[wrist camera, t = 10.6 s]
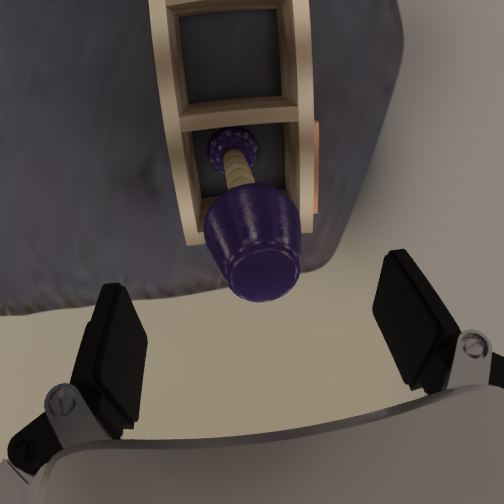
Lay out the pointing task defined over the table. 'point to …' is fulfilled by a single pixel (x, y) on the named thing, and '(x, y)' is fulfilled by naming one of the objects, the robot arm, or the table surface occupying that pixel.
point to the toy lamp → (251, 224)
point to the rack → (238, 106)
